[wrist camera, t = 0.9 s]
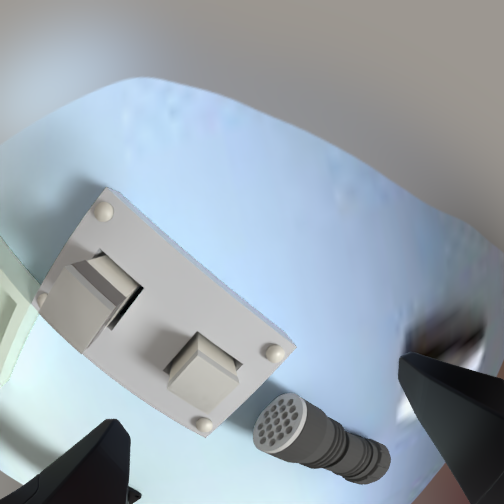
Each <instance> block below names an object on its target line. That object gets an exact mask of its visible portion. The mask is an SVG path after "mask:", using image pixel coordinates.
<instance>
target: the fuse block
mask: <svg viewBox="0 0 504 504" xmlns="http://www.w3.org/2000/svg"><path fill="white" fill-rule="evenodd" d="M105 255H108V256H109V257H110V258H111V259H112V260H113V261H114V262H115V263H116V264H118V265H119V266H120V267H121V268H122V269H123V270H124V271H125V272H126V273H127V274H129V275H130V276H131V277H132V278H133V279H134V280H135V281H137V282H138V283H139V284H140V285H141V286H142V287H144V289H143V290H142V292H141V293H140V294H139V295H138V297H137V298H136V299H135V301H134V302H133V303H132V305H131V306H130V307H129V309H128V310H127V311H126V313H125V314H124V315H123V317H122V316H121V315H120V314H118V315H117V316H116V317H115V318H114V319H113V320H112V321H111V322H110V324H109V325H108V326H107V327H106V328H105V329H104V330H103V331H102V332H101V334H100V335H99V337H98V338H97V339H96V340H95V341H94V342H93V343H92V344H91V345H90V346H89V348H88V349H86V350H85V351H84V352H83V353H82V354H83V355H84V356H85V357H86V358H88V359H89V360H90V361H91V362H92V363H94V364H95V365H96V366H97V367H98V368H100V369H101V370H102V371H103V372H105V373H106V374H107V375H109V376H110V377H111V378H112V379H114V380H115V381H116V382H118V383H119V384H120V385H122V386H123V387H124V388H126V389H127V390H129V391H130V392H131V393H133V394H134V395H136V396H137V397H138V398H140V399H141V400H143V401H144V402H146V403H147V404H149V405H150V406H152V407H153V408H155V409H157V410H158V411H160V412H161V413H163V414H164V415H166V416H168V417H169V418H171V419H173V420H174V421H176V422H178V423H179V424H181V425H183V426H185V427H186V428H188V429H190V430H192V431H193V432H195V433H197V434H199V435H201V436H203V437H205V438H206V437H207V436H208V435H209V434H210V433H212V432H213V431H214V430H215V429H216V428H217V427H218V426H219V425H220V424H222V423H223V422H224V421H225V420H226V419H227V418H228V417H229V416H230V415H231V414H232V413H233V412H234V411H235V410H236V409H238V408H239V407H240V406H241V405H242V404H243V403H244V402H245V401H246V400H247V399H248V398H249V397H250V396H251V395H252V394H253V393H254V392H255V391H256V390H257V389H258V388H259V387H260V386H261V385H262V384H263V383H264V382H265V381H266V380H267V379H268V378H269V377H270V376H271V374H272V373H273V372H274V371H275V370H276V369H277V368H278V367H279V366H280V365H281V364H282V363H283V362H284V361H285V360H286V358H287V357H288V356H289V355H290V354H291V353H292V352H293V351H294V350H295V349H296V345H295V344H294V343H293V342H292V340H291V339H290V338H289V336H288V335H287V334H286V333H285V332H284V331H283V330H282V329H280V328H279V327H278V326H277V325H275V324H274V323H273V322H271V321H270V320H269V319H268V318H266V317H265V316H264V315H263V314H261V313H260V312H259V311H258V310H256V309H255V308H254V307H253V306H251V305H250V304H249V303H248V302H246V301H245V300H244V299H243V298H241V297H240V296H239V295H238V294H237V293H235V292H234V291H233V290H232V289H230V288H229V287H228V286H227V285H226V284H224V283H223V282H222V281H221V280H220V279H218V278H217V277H216V276H215V275H213V274H212V273H211V272H210V271H209V270H208V269H206V268H205V267H204V266H203V265H202V264H200V263H199V262H198V261H197V260H196V259H194V258H193V257H192V256H191V255H190V254H189V253H187V252H186V251H185V250H184V249H183V248H182V247H180V246H179V245H178V244H177V243H176V242H175V241H174V240H172V239H171V238H170V237H169V236H168V235H167V234H166V233H164V232H163V231H162V230H161V229H160V228H159V227H158V226H156V225H155V224H154V223H153V222H152V221H151V220H150V219H149V218H147V217H146V216H145V215H144V214H143V213H142V212H141V211H140V210H138V209H137V208H136V207H135V206H134V205H133V204H132V203H131V202H130V201H129V200H127V199H126V198H125V197H124V196H123V195H122V194H121V193H120V192H117V191H115V190H113V189H110V188H108V187H106V188H105V189H104V191H103V192H102V193H101V194H100V196H99V197H98V198H97V200H96V201H95V202H94V204H93V205H92V206H91V208H90V209H89V210H88V212H87V213H86V215H85V216H84V217H83V219H82V220H81V222H80V223H79V225H78V226H77V227H76V229H75V230H74V232H73V233H72V235H71V236H70V238H69V239H68V241H67V242H66V244H65V246H64V247H63V249H62V250H61V252H60V254H59V255H58V257H57V258H56V260H55V262H54V263H53V265H52V267H51V268H50V270H49V272H48V274H47V275H46V277H45V279H44V281H43V282H42V284H41V286H40V288H39V290H38V292H37V293H36V295H35V297H34V299H33V301H32V303H31V304H32V305H33V307H34V308H35V309H36V310H37V311H38V312H39V310H40V308H41V307H42V305H43V303H44V301H45V299H46V297H47V296H48V294H49V292H50V290H51V289H52V287H53V285H54V283H55V282H56V280H57V278H58V277H59V275H60V273H61V272H62V270H63V269H64V267H66V266H69V265H71V264H73V263H76V262H80V261H83V260H86V261H88V260H91V259H95V258H98V257H101V256H105ZM197 331H198V332H199V333H201V334H202V335H203V336H205V337H206V338H207V339H209V340H210V341H211V342H213V343H214V344H215V345H217V346H218V347H220V348H221V349H222V350H224V351H225V352H227V353H228V354H229V355H231V356H232V357H233V360H234V364H235V368H236V373H237V377H238V379H239V383H240V384H239V385H238V386H237V387H236V388H235V389H234V390H233V391H232V392H231V393H230V394H229V395H228V396H227V397H226V398H225V399H224V400H223V401H222V402H221V403H220V404H219V405H218V406H217V407H216V408H215V409H214V410H213V411H212V412H210V413H209V414H208V415H207V414H205V413H203V412H202V411H200V410H198V409H197V408H195V407H193V406H192V405H190V404H189V403H187V402H185V401H184V400H182V399H181V398H179V397H178V396H176V395H174V394H173V393H171V392H170V391H168V390H167V385H168V382H169V377H170V372H171V367H172V362H173V358H174V357H175V356H176V355H177V354H178V352H179V351H180V350H181V349H182V348H183V347H184V346H185V344H186V343H187V342H188V341H189V340H190V339H191V337H192V336H193V335H194V334H195V333H196V332H197Z"/></svg>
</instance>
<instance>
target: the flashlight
mask: <svg viewBox="0 0 504 504" xmlns="http://www.w3.org/2000/svg"><path fill="white" fill-rule="evenodd" d="M253 442H254V445H255V446H256V448H257V449H259V450H261V451H263V452H265V453H267V454H270V455H272V456H274V457H277V458H279V459H282V460H284V461H287V462H292V463H299V464H301V465H304V466H307V467H309V468H314V469H316V468H324V469H327V470H329V471H332V472H333V473H335V474H337V475H340V476H342V477H343V478H345V480H347V481H350V482H353V483H357V484H361V485H363V484H369V483H372V482H375V481H377V480H379V479H380V478H381V477H383V476H384V475H385V473H386V472H387V470H388V469H389V466H390V462H391V457H390V454H389V451H388V449H387V448H386V446H385V445H383V444H381V443H379V442H376V441H374V440H372V439H364V438H362V437H360V436H356V435H352V434H350V433H348V432H347V431H345V430H344V428H343V427H342V425H341V424H340V423H338V422H337V421H335V420H333V419H331V418H329V417H327V416H326V414H325V413H324V412H323V411H322V410H321V409H319V408H318V407H316V406H314V405H312V404H311V403H309V402H308V401H306V400H304V399H303V398H301V397H300V396H298V395H296V394H294V393H286V394H282V395H280V396H278V397H277V398H276V399H275V400H274V401H272V402H271V403H270V404H269V405H268V406H267V407H266V408H265V409H264V410H263V411H262V412H261V414H260V415H259V417H258V419H257V421H256V423H255V426H254V430H253Z"/></svg>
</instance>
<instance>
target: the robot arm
mask: <svg viewBox="0 0 504 504" xmlns="http://www.w3.org/2000/svg"><path fill="white" fill-rule="evenodd" d="M398 379H399V382H400V385H401V386H402V388H403V390H404V392H405V394H406V396H407V398H408V400H409V402H410V404H411V406H412V408H413V410H414V413H415V414H416V416H417V418H418V420H419V421H420V423H421V425H422V426H423V428H424V429H425V431H426V432H427V434H428V435H429V437H430V438H431V440H432V441H433V443H434V445H435V446H436V448H437V449H438V451H439V452H440V454H441V456H442V457H443V459H444V460H445V462H446V463H447V465H448V467H449V468H450V470H451V472H452V473H453V475H454V477H455V478H456V480H457V481H458V483H459V485H460V487H461V488H462V490H463V492H464V493H465V495H466V497H467V498H468V500H469V502H470V504H504V380H503V379H501V378H498V377H494V376H490V375H487V374H483V373H480V372H476V371H473V370H469V369H466V368H462V367H459V366H456V365H452V364H449V363H446V362H443V361H439V360H436V359H433V358H430V357H427V356H423V355H420V354H417V353H414V352H409V353H407V354H404V355H402V356H401V357H400V358H399V368H398ZM130 445H131V440H130V436H129V434H128V433H127V431H126V430H125V429H124V427H123V426H122V424H121V423H120V422H119V421H118V420H117V419H106V420H104V421H103V422H102V423H101V424H100V425H98V426H97V427H96V428H95V429H94V430H92V431H91V432H90V433H89V434H88V435H86V436H85V437H84V438H83V439H81V440H80V441H79V442H78V443H77V444H75V445H74V446H73V447H72V448H70V449H69V450H68V451H67V452H66V453H64V454H63V455H62V456H61V457H59V458H58V459H57V460H56V461H54V462H53V463H52V464H51V465H49V466H48V467H47V468H46V469H44V470H43V471H42V472H40V474H38V475H37V476H35V477H34V478H33V479H31V480H30V481H29V482H27V483H26V484H25V485H23V486H22V487H20V488H19V489H17V490H16V491H14V492H12V493H11V494H9V495H7V496H6V497H4V498H2V499H1V500H0V504H133V503H134V502H136V501H137V500H139V499H140V498H141V496H142V495H141V493H139V492H137V491H135V490H133V489H131V488H129V487H128V483H129V470H130Z"/></svg>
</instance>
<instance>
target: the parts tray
mask: <svg viewBox="0 0 504 504" xmlns="http://www.w3.org/2000/svg"><path fill="white" fill-rule="evenodd" d="M40 286H41V285H40V284H39V283H38V282H37V280H36V279H35V278H34V277H33V276H32V275H31V274H30V273H29V271H28V270H27V269H26V268H25V267H24V266H23V264H22V263H21V262H20V261H19V260H18V258H17V257H16V256H15V255H14V253H13V252H12V251H11V250H10V248H9V247H8V246H7V244H6V243H5V242H4V240H3V239H2V238H1V236H0V388H1V387H2V386H3V385H4V384H5V383H7V382H8V381H9V380H10V377H11V374H12V372H13V369H14V367H15V365H16V362H17V360H18V358H19V355H20V353H21V351H22V349H23V346H24V344H25V342H26V340H27V338H28V336H29V334H30V332H31V330H32V328H33V326H34V324H35V322H36V320H37V318H38V316H39V313H38V311H37V310H36V309H35V308H34V307H33V305H32V304H31V303H32V301H33V299H34V297H35V295H36V293H37V292H38V290H39V288H40Z"/></svg>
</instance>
